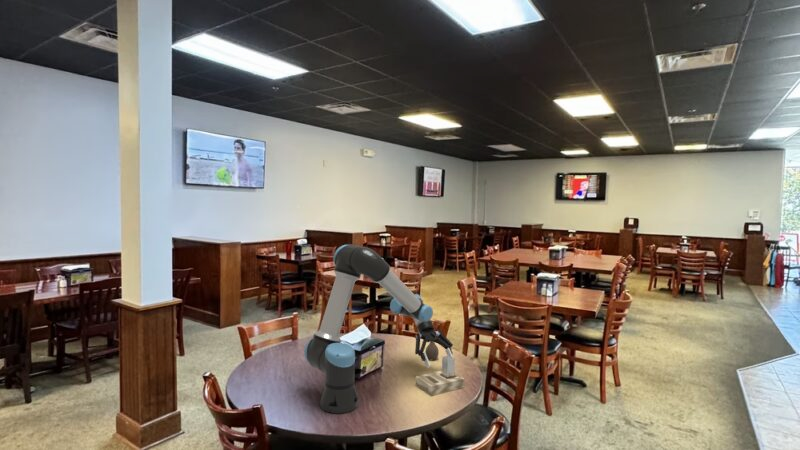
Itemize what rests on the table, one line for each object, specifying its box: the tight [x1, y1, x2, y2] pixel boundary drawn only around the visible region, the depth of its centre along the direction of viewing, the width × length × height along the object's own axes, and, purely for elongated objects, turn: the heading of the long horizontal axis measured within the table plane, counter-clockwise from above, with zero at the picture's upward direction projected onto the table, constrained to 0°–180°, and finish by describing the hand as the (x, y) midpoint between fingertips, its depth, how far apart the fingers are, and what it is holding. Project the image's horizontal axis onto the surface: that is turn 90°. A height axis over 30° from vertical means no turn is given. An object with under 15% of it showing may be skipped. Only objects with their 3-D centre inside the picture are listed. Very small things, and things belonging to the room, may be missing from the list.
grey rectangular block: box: [441, 355, 456, 379], centre depth 192 cm, size 4×4×12 cm
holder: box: [415, 370, 465, 397], centre depth 190 cm, size 18×12×4 cm, turn 121°
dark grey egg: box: [424, 341, 440, 361], centre depth 223 cm, size 7×7×9 cm
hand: (440, 364), depth 197 cm, fingers open, 13 cm apart
